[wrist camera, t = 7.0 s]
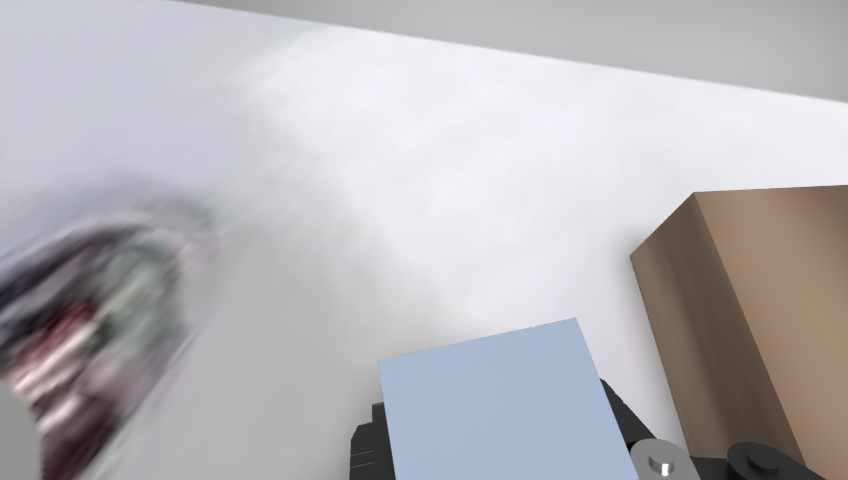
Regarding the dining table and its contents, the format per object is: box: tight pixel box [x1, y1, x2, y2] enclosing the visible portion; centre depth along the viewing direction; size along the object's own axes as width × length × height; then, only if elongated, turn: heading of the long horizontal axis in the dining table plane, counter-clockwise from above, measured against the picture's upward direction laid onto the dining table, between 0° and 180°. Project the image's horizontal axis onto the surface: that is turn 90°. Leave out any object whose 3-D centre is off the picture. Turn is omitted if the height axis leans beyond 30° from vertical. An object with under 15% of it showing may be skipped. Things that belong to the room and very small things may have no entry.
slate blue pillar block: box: [378, 318, 639, 480], centre depth 13 cm, size 5×5×9 cm
